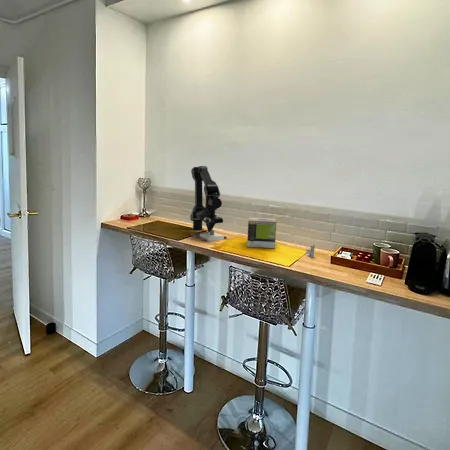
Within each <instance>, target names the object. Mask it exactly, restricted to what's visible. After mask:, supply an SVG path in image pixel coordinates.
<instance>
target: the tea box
mask: <svg viewBox="0 0 450 450" xmlns="http://www.w3.org/2000/svg"><path fill="white" fill-rule="evenodd" d="M247 222H248V223H247V240H246V241H247V243H246V244H247V245H246V246H247V247H249V248H266V249H275V248H276V238H277V237H276V235H277V220H276V218H269V217H268V218H265V217H248V220H247Z"/></svg>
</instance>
